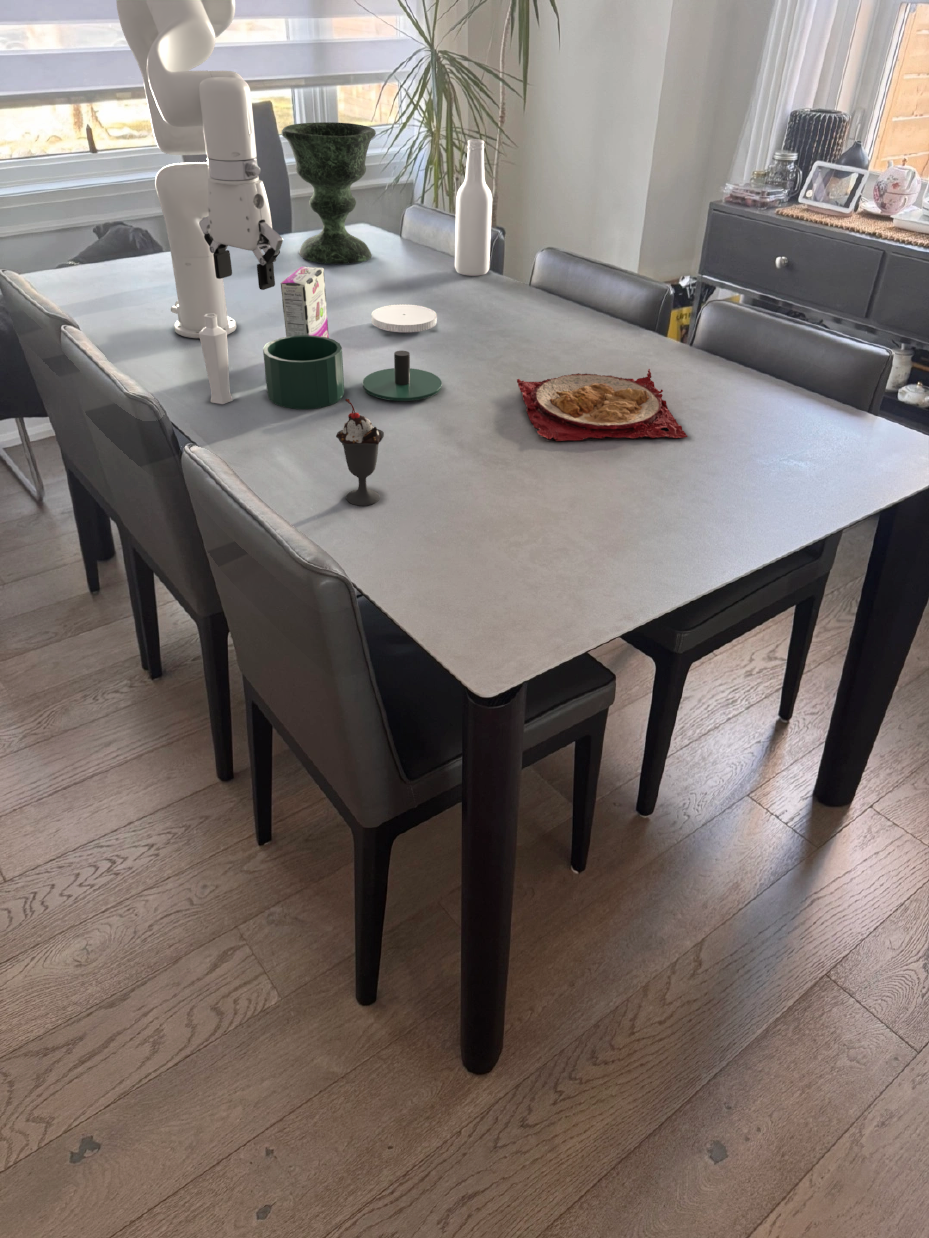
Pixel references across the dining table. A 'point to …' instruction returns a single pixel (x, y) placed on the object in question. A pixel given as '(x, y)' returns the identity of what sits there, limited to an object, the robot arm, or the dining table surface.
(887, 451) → the dining table surface
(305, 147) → the goblet
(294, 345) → the tin
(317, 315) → the candy bar box
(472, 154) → the alcohol
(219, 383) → the perfume bottle
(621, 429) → the plate with food
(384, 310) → the plastic lid
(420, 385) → the lid
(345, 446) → the sundae
